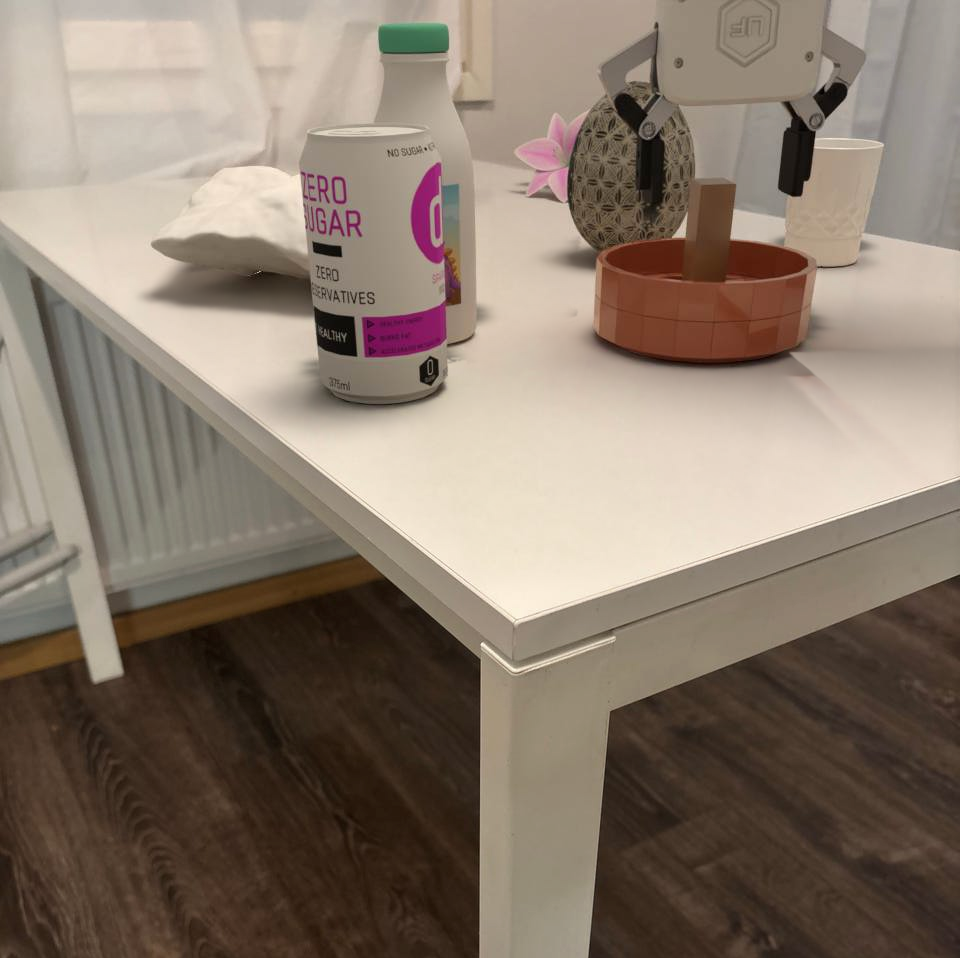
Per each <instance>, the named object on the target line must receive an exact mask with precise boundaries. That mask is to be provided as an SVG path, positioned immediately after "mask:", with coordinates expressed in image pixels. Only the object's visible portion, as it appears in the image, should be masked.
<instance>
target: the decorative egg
mask: <svg viewBox="0 0 960 958" xmlns="http://www.w3.org/2000/svg"><path fill="white" fill-rule="evenodd" d="M626 85H627V88H628V90H629V93H630V95H631V96H632V97H633V99H634V100H635V101H636V102H637V103H638V104H639V105H640V107H641V108H642V107H643V106H644V105H645V103H646V102H647V101H648V99H649V98H650V97H651V95H652V94H653V93H652V91H651V87H650V82H647V81H638V80H631V81H627V82H626ZM590 109H591V110H590ZM590 109H589V110H590V111H589V112H588V114H587V116H586V117H585V119H584V121H583V123H582V125H581V127H580V129H579V131H578V134H577V136H576V139H575V142H574V145H573V149H572V153H571V157H570V162H569V168H568V176H567V197H568V199H567V203H568V204H567V205H568V209H569V212H570V213H569V214H570V216H571V219H572V222H573V223H574V225H575V228H576V230H577V231H578V233H579V234H580V236H581V237H582V239H583V240H584V241H585V242H586V243H587V244H588V245H589V246H590V247H591V248H592V249H594V250H595V251H596V252H598V253H599V254H600V253H601V252H602V251H603V250H606V249H608V248H611V247H613V246H615V245H620V244H625V243H630V242H634V241H641V240H651V239H661V238H674V235H676V233H677V232H678V230H679V229H680V228H681V226H682V224H683V222H684V221H685V219H686V218H685V217H687V214H688V202H689V191H690V180H691V179H694V178H696V157H695V147H694V141H693V136H692V133H691V129H690V126H689V124H688V122H687V119H686V117H685V115H684V113H683V111H682V110H681V108H680V105H679V106H678V107H677V108H676V109H675V111H674V112H673V113H672V115H671V116H670V117H669V119H668V120H667V121H666V123H665V124H664V125H663V126H662V128H661V129H660V139H662V140H663V141H664V142H665V151H664V171H663V190H662V202H659V204H658V205H650V204H649V203H647V202H646V201H645V200H643V198H642V190H636V187H635V169H636V143H637V136H636V135H635V134H634V133H633V132H632V130H631V129H630V128H629V127H628V125H627V124H626V123H625V122H624V121H623V120H622V119H621V118H620V117H619V115H618V114H617V113H616V112H615V111H614V110H613V108H612V106H611V102H610V100H609V98H608V96H607V94H606V93H605V94H603V95H602V96H601V97H600V98H599V99H598V100H597V101H596V102H595V103H594V105H593V106H591V108H590Z"/></svg>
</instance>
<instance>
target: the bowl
mask: <svg viewBox="0 0 960 958" xmlns="http://www.w3.org/2000/svg"><path fill="white" fill-rule="evenodd" d="M684 247H685V237H672V238H661V239H651V240H641V241H634V242H630V243H625V244H620V245H615V246H613V247H611V248H608V249H606V250H603V251H602V252H601V253H600V252H599V254H598V256H597V257H596V265H595V282H594V283H595V286H594V303H593V304H594V305H593V306H594V307H593V329H594V330H595V332H596V333H597V335H598V337H601V338H603V339H604V340H606V341H608V342H610V343H612V344H614V345H616V346H617V347H620V348H621V349H624V350H626V351H629V352H631V353H634V354H636V355H641V356H644V357H649V358H654V359H658V360H659V359H660V360H665V361H666V360H667V361H674V362H684V363H700V364H701V363H704V364H715V363H716V364H721V363H723V364H724V363H736V362H745V361H753V360H757V359H762V358H767V357H770V356H773V355H775V354H778V353H781V352H783V351H785V350H786V351H787V350H789V349H792V348H795V347H797V346H798V345H799V344H801V343H802V342H803V341H804V340H806V339H807V335H808V329H809V321H810V316H811V310H812V302H813V297H814V290H815V285H816V279H817V278H816V277H817V271H818V266H817V263H816V259H815V258H813V257H811V256H810V255H808V254H806V253H805V252H802V251H799V250H796V249H792V248H789V247H786V246H784V245H780V244H775V243H770V242H763V241H757V240H749V239H739V238H730V246H729V255H728V264H727V273H726V280H737V279H743V280H744V281H734V282H706V281H682V269H683V258H684Z"/></svg>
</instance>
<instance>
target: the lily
mask: <svg viewBox="0 0 960 958" xmlns="http://www.w3.org/2000/svg"><path fill="white" fill-rule="evenodd" d="M591 109H592V108H590V109H588V110H586V111H584V112H582V113H581V114H580V115H578V116H577V117H575V118H574V119H573V120H572V121H570V122H569V124H568V125H567V123H566V122H565V120H564V119H563V117H562V116H561V115H560V114H559V113H558V112H554V113H553V115H552V117H551V120H550V123H549V125H548V126H549V127H548V131H547V137H539V138H535V139H532V140H530V141H527V142H525V143H523V144H521V145H519V146H517V147H516V148H515V149H514V150H513V154H514V155H515V156H516V157H517V158H519V159H520V160H521V161H522V162H524V163H525V164H526V165H528V166H529V167H531V168H533V169H535V171H534V173H533V175H532V177H531V179H530V181H529V183H528V186H527V189H526V191H525V197H526V198H528V197H530V196H532V195H533V194H535V193H537V192H538V191H539V190H541V189H542V188H544V187H545V186H547V185H548V186H549V188H550V190H551V191H552V192H553V194H554V196H556V198H557V199H558V200H559V201H560V202H561V203H563V204H565V203H566V202H568V197H567V176H568V168H569V162H570V157H571V153H572V149H573V145H574V142H575V139H576V136H577V134H578V131H579V129H580V127H581V125H582V123H583V121H584V119H585V117H586V116H587V114H588V112H589V111H590V110H591Z"/></svg>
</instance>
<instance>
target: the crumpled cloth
mask: <svg viewBox="0 0 960 958" xmlns="http://www.w3.org/2000/svg"><path fill="white" fill-rule="evenodd" d="M150 246H151V248H152V249H153V250H155V251H156V252H158V253H160V254H161V255H163V256H165V257H167V258H170V259H172V260H176V261H179V262H182V263H185V264H192V265H193V266H195V267H196V268H200V269H201V268H202V269H203V268H208V269H220V270H221V269H222V270H223V269H226V270H228V271H230V272H231V273H234V274H237V275H240V276H244V275H253V276H255V275H254V274H255V273H257V272H259V271H262V272H268V273H275V274H279V275H284V276H291V277H294V278H296V279H299V280H305V279H306V280H311V278H310V268H309V258H308V248H307V238H306V228H305V218H304V208H303V198H302V188H301V178H300V173H298V174H295V175H292V176H291V175H290V174H289V173H287V172H284V171H282V170H280V169H279V168H276V167H272V166H267V165H266V166H265V165H247V166H246V165H245V166H235V167H223V168H221V169H220V170H218V171H217V172H216V173H215V174H214V175H213V176H212V177H211V178H209V180H208V181H206V182H205V183H204V184H202V185H200V186H199V187H198V189H197V190H196V191H195V192H194V193H193V194H192V195H191V197H190V198H189V200H188V201H187V202H186V204H185V205H184V206H183V208H182V209H181V211H179V214H178V217H177V218H176V219H174V220H172V221H170V222H168V223H166V224H165V225H163V226H162V227H161V228H160V229H158V231H157V232H156V233H155V234H154V236H153V237H152V239H151V241H150Z"/></svg>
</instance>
